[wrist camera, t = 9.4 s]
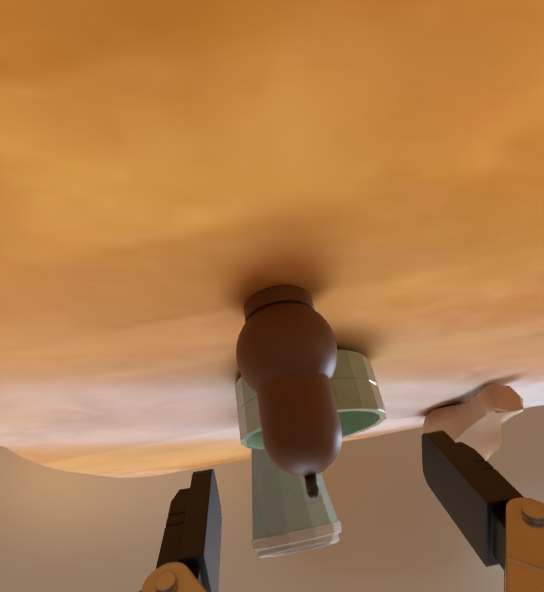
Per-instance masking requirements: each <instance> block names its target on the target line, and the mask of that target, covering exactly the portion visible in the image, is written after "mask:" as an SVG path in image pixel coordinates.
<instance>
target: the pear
mask: <svg viewBox="0 0 544 592" xmlns="http://www.w3.org/2000/svg"><path fill="white" fill-rule="evenodd" d="M244 314H245V322H246V323H245V325H244V326H243V328H242V330H241V332H240V335H239V338H238V341H237V348H236V357H237V363H238V367H239V370H240V373H241V375H242V377H243V379H244V380H245V382H246V383H247V385H248V386H249V387H250V388H251V389H252V390H253V391H254V392H255V393H257V400H258V407H259V415H260V422H261V430H262V437H263V443H264V447H265V450H266V452H267V454H268V456H269V457H270V459H271V460H272V462H273V463H274V464H275V465H276V466H277V467H278V468H280V469H281V470H282V471H284V472H286V473H288V474H291V475H294V476H299V477H304V478H305V484H306V489H307V494H308V496H309V497H310V498H312V499H315V498H317V497H318V495H319V487H318V482H317V477H316V474H319V473H321V472H322V471H324V470H326V469H327V468H328V467H329V466H330V465H331V464H332V463H333V462H334V460H335V459H336V457H337V455H338V453H339V450H340V447H341V443H342V428H341V423H340V419H339V415H338V411H337V407H336V403H335V399H334V395H333V391H332V387H331V383H330V379H331V377H332V375H333V372H334V370H335V367H336V362H337V344H336V339H335V336H334V333H333V331H332V329H331V327H330V326H329V324H328V323H327V321H326V320H325V319H324V318H323V317H322V316H321V315H320V314H319V313H318V312H316V311H315V310H314V307H313V303H312V299H311V296H310V294H309V293H308V292H307V291H306V290H304V289H302V288H299V287H294V286H277V287H272V288H268V289H265V290H262V291H260V292H258V293H256V294H254V295H253V296H252V297H250V298H249V299H248V300H247V302H246V303H245V306H244Z"/></svg>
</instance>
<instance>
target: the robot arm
mask: <svg viewBox="0 0 544 592" xmlns="http://www.w3.org/2000/svg"><path fill="white" fill-rule="evenodd" d="M422 461H423V472H424V476H425V479H426V482H427V484H428V485H429V487H430V488H431V490H432V491H433V493H434V494H435V495H436V497H437V498H438V500H439V501H440V502H441V504H442V505H443V507H444V508H445V509H446V511H447V512H448V514H449V515H450V517H451V518H452V519H453V521H454V522H455V524H456V525H457V526H458V528H459V529H460V531H461V532H462V533H463V535H464V536H465V538H466V539H467V541H468V542H469V543H470V545H471V546H472V547H473V549H474V550H475V552H476V553H477V555H478V556H479V557H480V559H481V560H482V562H483V563H484V564H485V566H486V567H487V566H492V565H497V564H500V565H501V567H502V568H503V570H504V592H544V503H542V502H539V501H537V500H534V499H530V498H524V497H523V496H522V495H521V494H520V493H519V492H518V491H517V490H516V489H515V488H514V487H513V486H512V485H511V484H510V483H509V482H508V481H507V480H506V479H505V478H504V477H503V476H501V474H500V473H499V472H498V471H497V470H495V469H493V467H492V466H491V465H490V464H489V463H488V462H487V461H485V459H484V458H483V457H482V456H481V455H480V454H479V453H478V452H477V451H476V450H475V449H474V448H472V447H470V446H468V445H466V444H464V443H463V442H455V441H454V440H453V439H452V438H451V437H450V436H449V435H448V434H447V433H446V432H445V431H443V430H440V431H434V432H429V433H424V434H423V435H422ZM221 523H222V517H221V505H220V500H219V494H218V489H217V483H216V478H215V473H214V470H213V469H209V470H203V471H197V472H193V475H192V480H191V487H190V488H187V489H181V490H179V491H178V493H177V494H176V496H175V497H174V499H173V500H172V501H171V505H170V509H169V514H168V519H167V522H166V528H165V531H164V536H163V540H162V544H161V549H160V553H159V558H158V562H157V566H156V569H155V571H153V572H152V573H151V574H150V575H149V576H148V578H147V579H146V581H145V582H144V584H143V587H142V590H141V591H140V592H218V585H219V565H220V545H221V543H220V542H221Z"/></svg>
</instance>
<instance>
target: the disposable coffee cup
mask: <svg viewBox="0 0 544 592" xmlns="http://www.w3.org/2000/svg"><path fill="white" fill-rule="evenodd" d="M316 477H317V482H318V487H319V495H318V497H317V498H315V499H312V498H310V497H309V496H308V494H307V489H306V484H305V478H304V477H299V476H294V475H291V474H288V473H286V472H284V471H282V470H281V469H280V468H278V467H277V466H276V465H275V464H274V463H273V462H272V460H271V459H270V457H269V456H268V454H267V452H266V450H265V449H253V448H252V515H253V516H252V517H253V519H252V521H253V540H251V541H252V545H253V549H254V551H258V557H259V558H263V557H273V556H280V555H287V554H292V553H297V552H300V551H305V550H310V549H316V548H320V547H324V546H327V545H330V544H334V543H336V542H338V541H339V536H338V533H340V532H341V524H340V522H341V521H338V520H337V517H336V514H335V512H334V509H333V507H332V504H331V501H330V498H329V495H328V493H327V490H326V487H325V485H324V482H323V479H322V477H321V474H320V473H319V474H316Z"/></svg>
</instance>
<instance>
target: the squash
mask: <svg viewBox="0 0 544 592" xmlns="http://www.w3.org/2000/svg"><path fill="white" fill-rule="evenodd" d="M522 411H523V399H522V398H521V397H520V396H519V395H518V394H517V393H516V392H515V391H514V390H513V389H512V388H511V387H510V386H502V385H493V384H489V385H487V386H485V387H484V388H483V389H482V390H481V391H480V392H479V393H478V394H477V395H476V396H474V397H473V398H472V399H471V400H469V401H468V402H467V403H462V404H457V405H452V406H447V407H442V408H438V409H433V410H432V411H430V412H429V413H428V414H427V415H426V417H425V421H424V424H423V428H422V432H421V439H422V435H423V434H424V433H429V432H434V431H440V430H443V431H445V432H446V433H447V434H448V435H449V436H450V437H451V438H452V439H453V440H454V441H455V442H463V443H464V444H466V445H468V446H470V447H472V448H474V449H475V450H476V451H477V452H478V453H479V454H480V455H481V456H482V457H483V458H484V459H485V461H487V460H488V458H489V457H490V456H491V454H492V453H494V452H495V451H496V450H497V449H498V448H500V447H501V443H502V436H501V432H500V431H501V424H502V423H504V422H505V421H506V420H508V419H509V418H510V417H511V416H514V415H516V414H518V413H520V412H522Z"/></svg>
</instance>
